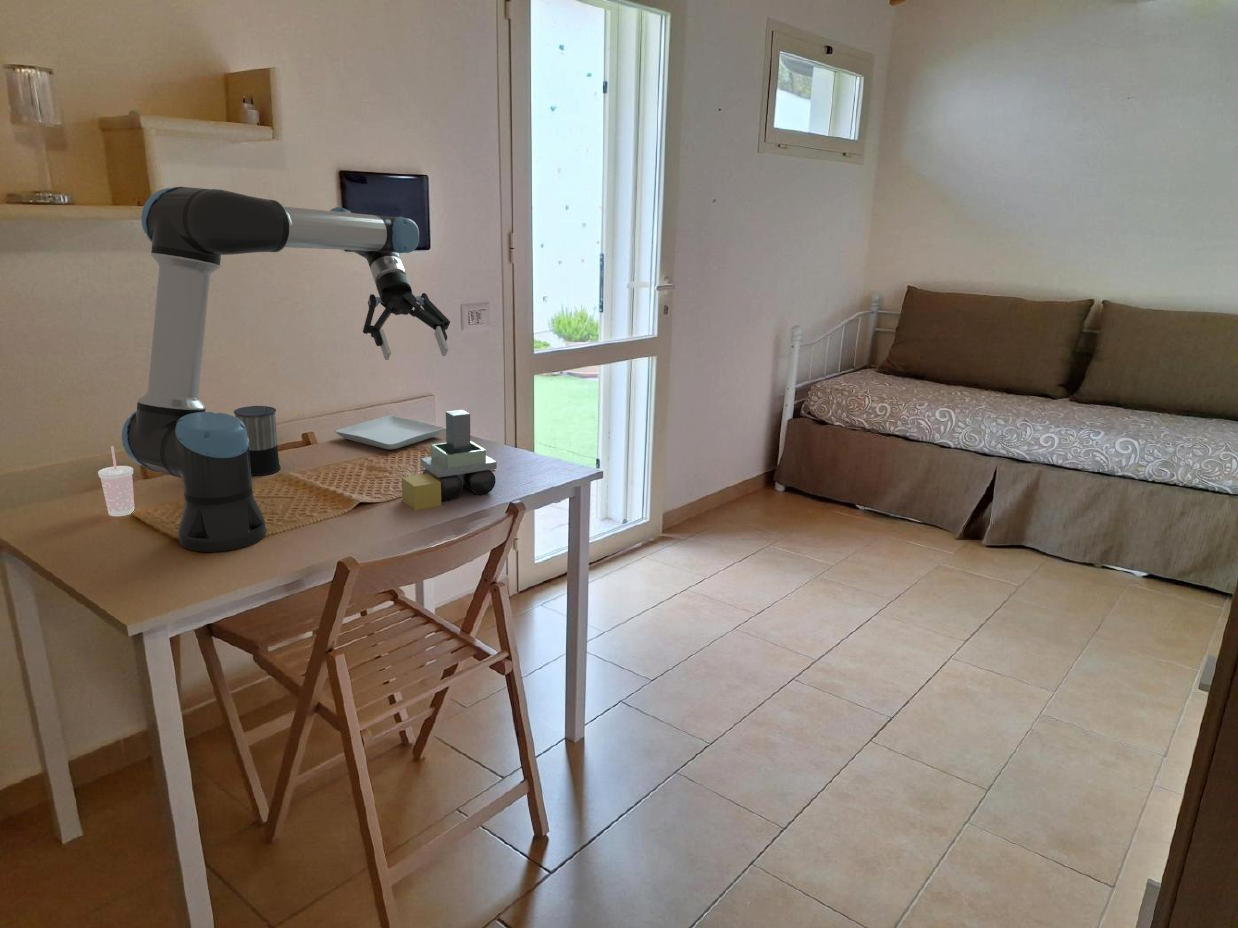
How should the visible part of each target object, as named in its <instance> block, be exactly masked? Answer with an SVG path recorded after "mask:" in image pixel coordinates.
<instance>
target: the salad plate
mask: <svg viewBox="0 0 1238 928" xmlns="http://www.w3.org/2000/svg"><path fill="white" fill-rule="evenodd" d="M444 430H445V427H443V426H439V425H435V424H432V423H427V422H424V421H420V420H416V419H412V418H406V417H401V416H397V415H393V414H389V415H386V416H382V417H379V418H375V419H370V420H368V421H364V422H360V423H356V424H353V425H350V426H345V427H342V428H339V429H336V430H335V433H336V434H337V435H338V436H340V437H341V438H343V439H345V440H349V441H353V442H356V443H360V444H363V445H368V446H370V447H371V446H372V447H375V448H380V449H384V450H396V449H400V448H403V447H407V446H410V445H414V444H416V443H417V444H418V443H420V442H423V441H426V440H428V439H431V438H433V437H436V436H438V435H440V434H441V433H442V432H443V431H444Z"/></svg>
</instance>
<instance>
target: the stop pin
mask: <svg viewBox="0 0 1238 928" xmlns="http://www.w3.org/2000/svg"><path fill="white" fill-rule="evenodd" d="M445 435H446V436H445V437H446V439H445V440H446V441H445V443H446V449H447V453H448V454H454V453H462V452H469V451H471V446H470V441H471V413H469V412H467V411H466V410H464V409H457V410H448V411H445Z"/></svg>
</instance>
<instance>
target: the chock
mask: <svg viewBox="0 0 1238 928" xmlns="http://www.w3.org/2000/svg"><path fill="white" fill-rule="evenodd" d="M401 494H402V495H401V496H402V502H404V503H405V504H406V505H408V506H409V507H410V508H411V509H413V510H414V511H419V510H420V511H421V510H424V509H430V508H434V507H435V508H436V507H441V506H442V498H441V482H440V481H438V480H437V479H435V478H434V477H432V476H431V475H429V474H428V473H426V474H423V473H419V474H414V475H408V476H401Z"/></svg>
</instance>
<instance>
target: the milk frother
mask: <svg viewBox="0 0 1238 928" xmlns="http://www.w3.org/2000/svg"><path fill="white" fill-rule="evenodd" d="M276 412H277V409H276V408H275V407H272V406H268V405H251V406H249V405H248V406H242V407H239V408H236V409H234V410H233V414H234V417H237V418H238V419H240V420H241V421H242V422H243V423H244V425H245V427H246V431H247V436H248V439H249V456H250V468H251V477H252V476H255V477H256V476H258V477H259V476H267V475H272V474H275V473H277V472H279V471H280V470H281V465H280V457H279V446H278V432H277V421H276V420H277V419H276Z"/></svg>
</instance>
